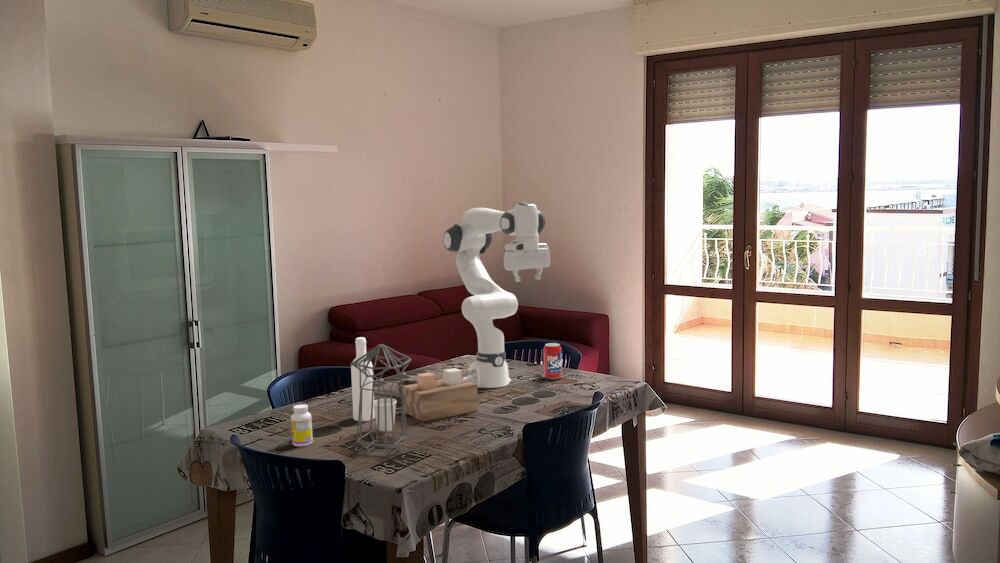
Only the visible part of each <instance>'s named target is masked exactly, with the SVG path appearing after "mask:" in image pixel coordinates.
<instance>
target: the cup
mask: <svg viewBox="0 0 1000 563" xmlns="http://www.w3.org/2000/svg"><path fill="white" fill-rule="evenodd" d="M417 383H418V382H417V380H412V381H411V380H410V379H405V380H403V386H405V385H411V384H417ZM400 385H401V383H397V387H398V386H400ZM397 389H398V392H399V396H400V397H401V386H400V387H398V388H397Z"/></svg>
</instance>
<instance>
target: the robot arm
mask: <svg viewBox="0 0 1000 563" xmlns="http://www.w3.org/2000/svg"><path fill="white" fill-rule="evenodd" d="M545 227H546V217H545V216H544V214H543V213H542V211H541V210H539V209H538V208H537V205H536V204H535V203H533V202H529V201H520V202H517V203H516V204H515V206H514V207H513V208H512V209H510V210H508V211H503V210H502V211H501V210H498V209H494V208H488V207H473V208H470V209H468V210H466V211H465V212H464V213H463V214H462V218H461V223H460V224H457V223H455V224H453V225H452V226H451V227H449V228H447V230H445V231H444V234H443V238H442V240H443V245H444V247H445V249H446V250H447V251H449V252H452V253H457V252H459V253H458V254H457V255H456V257H455V264H456V267H457V270H458V274H459V275H460V278H461V280H462V281H463V282H462V283H463V284H464V286H465V289H466V290H467V291H468V292H469V294H471V296H469V297H466V298H465V299H464V300H463V301H462V303H461V313H462V315H463V317H464V318H465V319H466V320H467V321H468V322H470V323H471V325H473V328H474V329H475V332H476V336H477V347H478V348H477V350H478V351H476V352H475V355H476V358H475V361H474V362H473V363H472V364H470V366H469V367H468V369H467V376H465V377H462V379H463V380H466V381H468V382H471V383H474V384H476V385H477V389H478V388H484V389H494V388H501V387H502V388H503V387H506V386H508V385H510V382H512V379H511V378H510V376H509V374H510V373H509V366H508V363H507V361H506V359H507V358H506V355H507V354H506V350H505V336H504V332H503V331H502V330H501V329H499V328H497V327H496V326H495V325H494V322H493V321H494V320H496V319H505V318H508V317H511V316H513V315H515V314H516V313H517V311H518V309H519V308H518V307H519V303H518V302H519V301H518V299H517V297H516V296H515V294H514V293H512V292H510V291H507V290H505V289H503V288H501V287H500V286H499V285H498V284H496V283H495V282H494V280H493V279H492V278H491V276H490V275H489V273H488V270H486V267H485V266H484V264H483V262H482V260H481V258H480V255H483V254H484V253H485V252H486V251H487V249H489V247H490V245H491V244H492V242H493V234H492V233H496V232H501V231H502V232H503V233H504V234H505V235H507V236H515V239H514V240H512V241H510V242H508V243H506V244H505V245H504V250H505V252H504V254H503V268H504V269H505V271H512V274H513V276H514V280H515V283H518V282H519V283H520V282H521V281H522V278H521V276H519V274H518V273H519V272H520V271H522V270H531V269H536V271H537V272H536V274H534V279H535V281H536V280H542V279H541V278H542V277H541V276H542V273H543V270H544V268H550V266H551V264H552V263H551V261H552V260H551V255H550V246H549V245H548V244H547V243H540V242H539V241H540V240H539V239H540V238H539V235H540V234H541V232H543V230H544V228H545Z"/></svg>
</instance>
